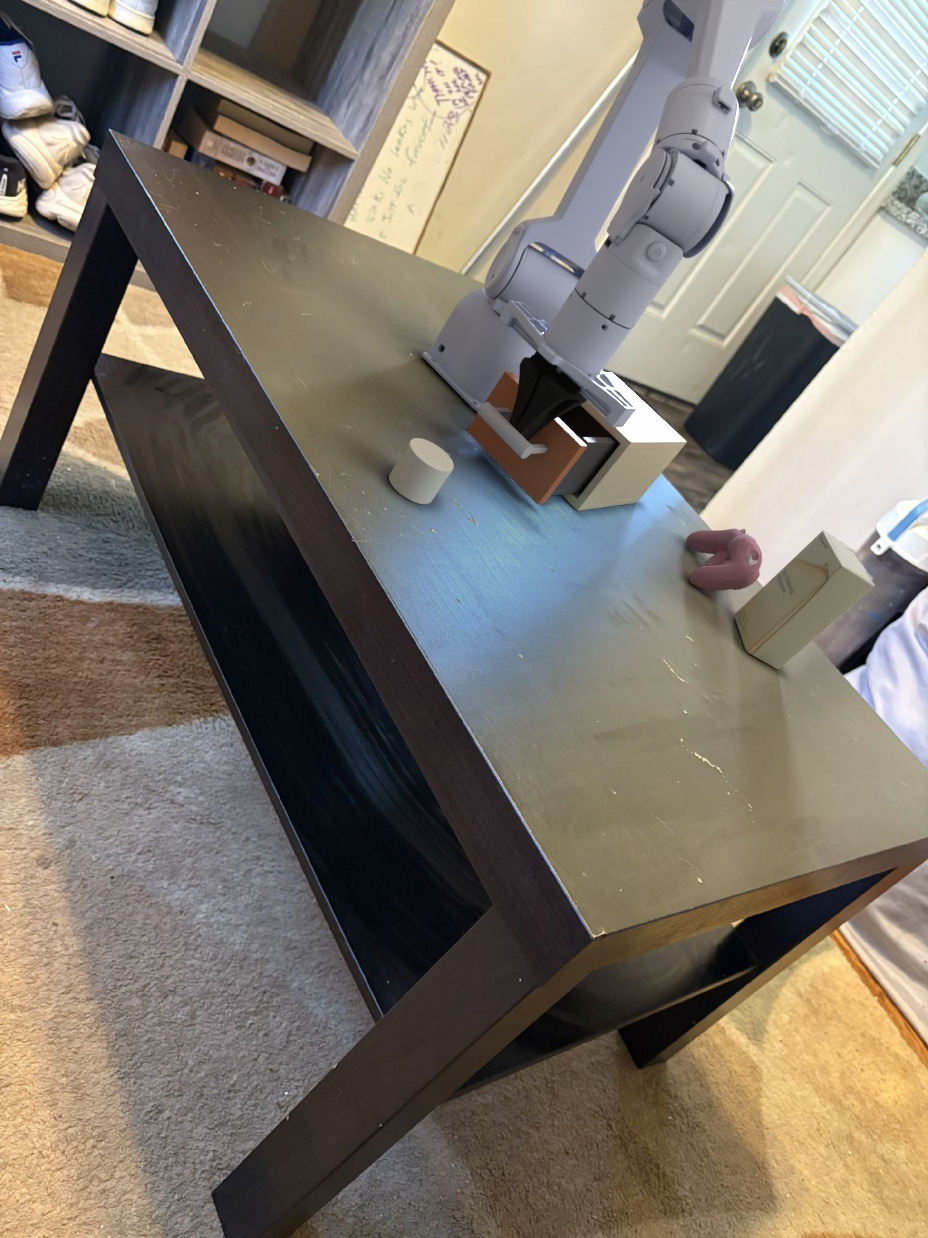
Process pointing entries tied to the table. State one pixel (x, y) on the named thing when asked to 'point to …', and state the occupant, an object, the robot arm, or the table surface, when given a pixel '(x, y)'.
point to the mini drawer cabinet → (629, 456)
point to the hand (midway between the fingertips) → (512, 439)
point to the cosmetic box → (802, 600)
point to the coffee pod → (421, 471)
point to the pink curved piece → (725, 559)
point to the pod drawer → (542, 445)
